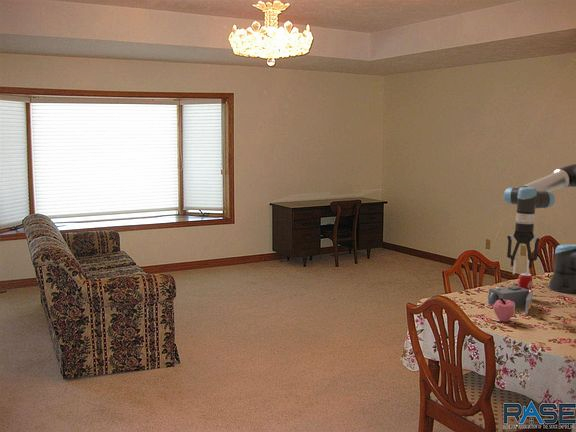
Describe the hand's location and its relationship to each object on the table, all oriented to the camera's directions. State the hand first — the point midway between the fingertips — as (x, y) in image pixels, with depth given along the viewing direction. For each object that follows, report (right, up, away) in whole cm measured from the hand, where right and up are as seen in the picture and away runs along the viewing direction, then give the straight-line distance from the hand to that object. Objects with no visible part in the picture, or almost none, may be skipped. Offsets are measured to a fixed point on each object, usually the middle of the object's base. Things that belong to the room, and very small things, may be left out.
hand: (520, 274), depth 274 cm
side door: (+5, -16, +4) cm, 17 cm away
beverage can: (+10, -14, +23) cm, 28 cm away
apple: (-12, -19, -12) cm, 25 cm away
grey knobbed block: (-2, -15, +12) cm, 19 cm away
